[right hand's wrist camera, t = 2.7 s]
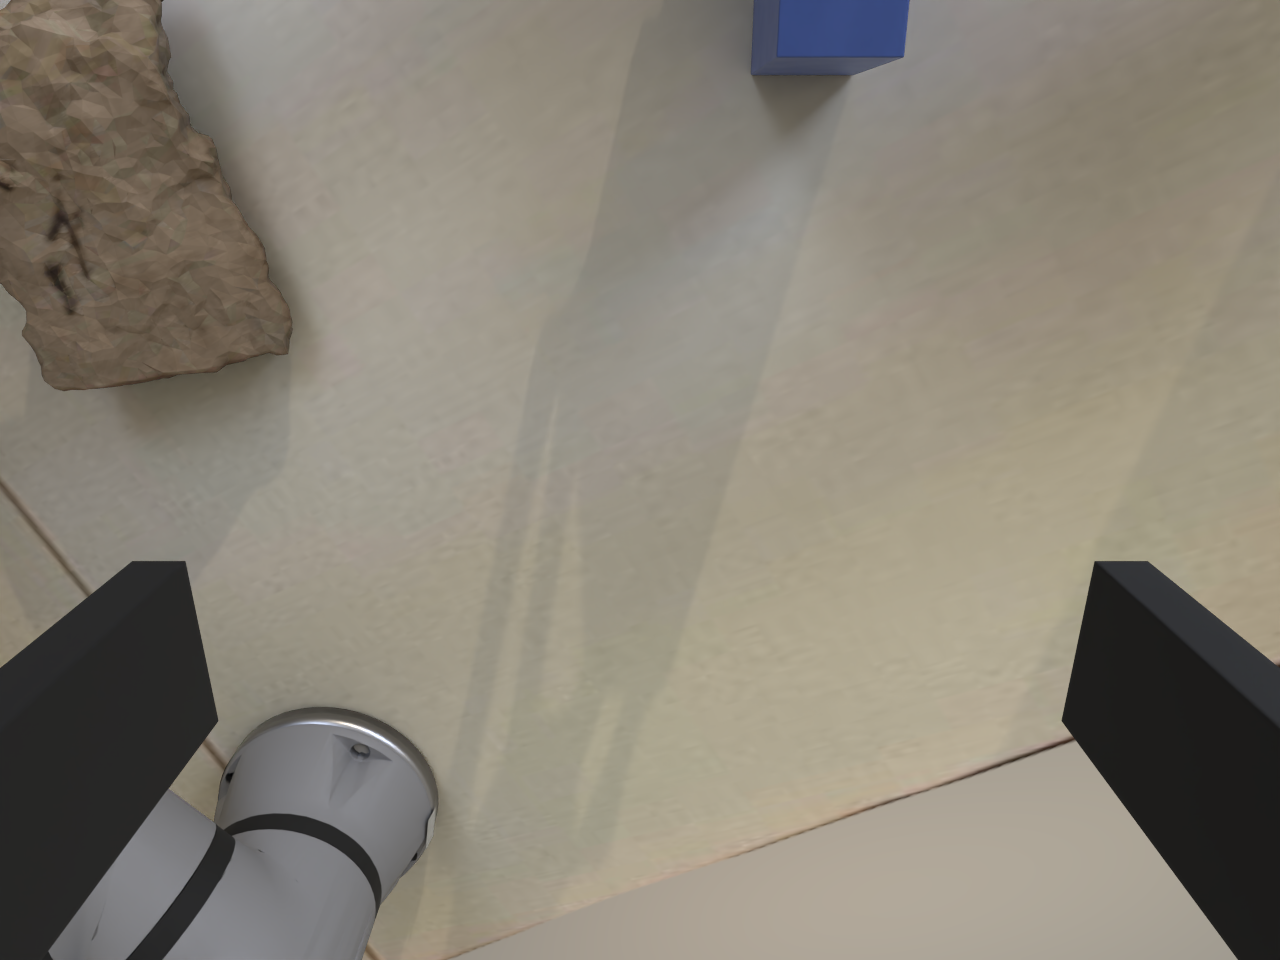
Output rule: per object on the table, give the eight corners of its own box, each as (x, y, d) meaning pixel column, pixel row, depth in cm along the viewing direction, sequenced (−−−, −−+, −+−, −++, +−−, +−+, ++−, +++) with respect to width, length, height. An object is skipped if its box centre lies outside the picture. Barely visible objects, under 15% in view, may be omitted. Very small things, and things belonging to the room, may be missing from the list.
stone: (-149, 12, 43) (-221, 10, 38) (156, -54, 45) (127, -66, 40) (75, 393, 53) (42, 431, 48) (314, 326, 55) (307, 356, 50)
